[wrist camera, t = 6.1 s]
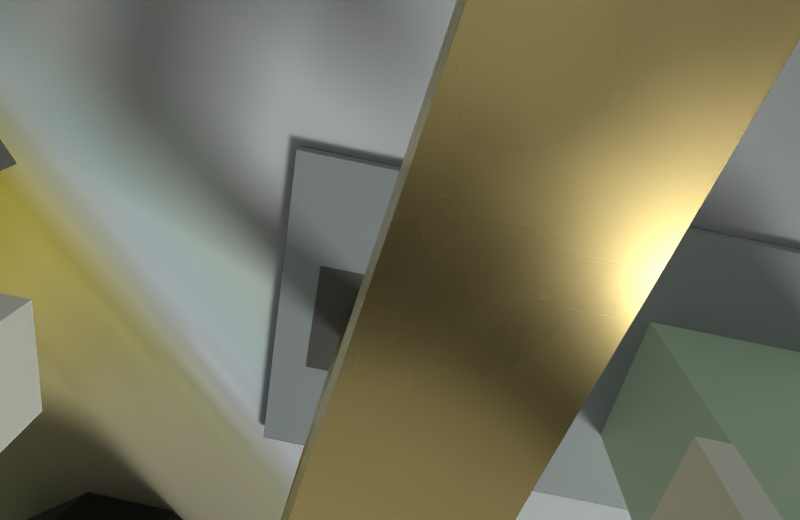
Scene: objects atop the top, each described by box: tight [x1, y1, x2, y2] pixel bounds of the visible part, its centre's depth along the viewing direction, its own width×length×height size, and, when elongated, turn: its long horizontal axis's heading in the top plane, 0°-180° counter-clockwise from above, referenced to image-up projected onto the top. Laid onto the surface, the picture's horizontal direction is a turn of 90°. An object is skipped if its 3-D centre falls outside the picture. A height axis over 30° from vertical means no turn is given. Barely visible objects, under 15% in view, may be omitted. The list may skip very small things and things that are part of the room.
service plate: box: [263, 146, 800, 510], centre depth 24 cm, size 24×14×1 cm, turn 79°
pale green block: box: [601, 322, 800, 520], centre depth 19 cm, size 8×6×11 cm
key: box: [281, 0, 800, 520], centre depth 14 cm, size 16×2×15 cm, turn 162°
